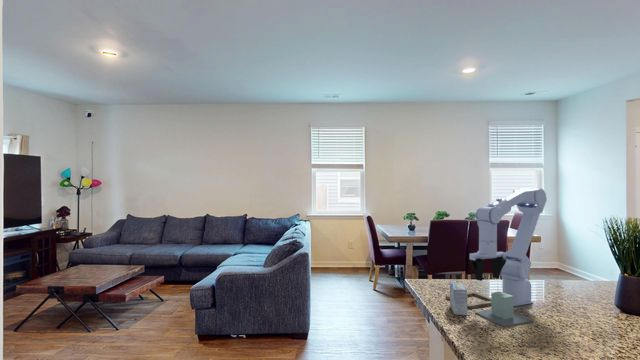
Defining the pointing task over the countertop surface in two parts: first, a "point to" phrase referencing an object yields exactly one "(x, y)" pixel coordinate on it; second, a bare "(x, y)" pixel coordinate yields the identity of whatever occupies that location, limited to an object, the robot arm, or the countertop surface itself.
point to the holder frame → (477, 305)
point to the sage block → (502, 305)
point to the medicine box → (458, 298)
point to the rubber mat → (509, 322)
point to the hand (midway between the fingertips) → (487, 279)
